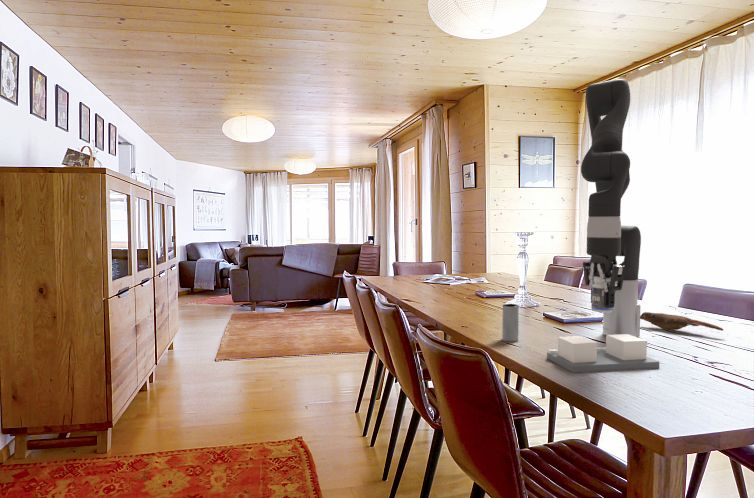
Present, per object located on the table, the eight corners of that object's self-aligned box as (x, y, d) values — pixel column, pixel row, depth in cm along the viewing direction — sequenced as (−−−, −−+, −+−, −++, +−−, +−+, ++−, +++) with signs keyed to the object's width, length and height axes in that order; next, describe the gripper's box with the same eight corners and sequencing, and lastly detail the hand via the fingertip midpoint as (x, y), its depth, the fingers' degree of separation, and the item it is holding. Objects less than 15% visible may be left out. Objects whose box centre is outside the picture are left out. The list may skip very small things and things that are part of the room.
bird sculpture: (720, 340, 143) (721, 323, 143) (630, 326, 162) (630, 311, 162) (726, 336, 148) (727, 320, 147) (638, 323, 166) (639, 309, 166)
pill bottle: (587, 309, 122) (588, 275, 122) (605, 309, 122) (606, 275, 122) (597, 313, 117) (598, 277, 117) (616, 312, 118) (617, 277, 117)
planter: (518, 338, 146) (519, 304, 145) (517, 342, 142) (518, 306, 141) (503, 337, 147) (503, 303, 147) (501, 341, 143) (502, 305, 142)
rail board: (626, 354, 128) (626, 331, 128) (659, 367, 116) (660, 342, 116) (547, 358, 125) (547, 334, 125) (572, 372, 113) (573, 346, 113)
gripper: (637, 236, 112) (635, 310, 113) (600, 234, 127) (598, 300, 128) (607, 236, 111) (605, 311, 112) (573, 235, 125) (571, 301, 126)
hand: (602, 305), depth 120 cm, fingers closed on pill bottle, 4 cm apart
